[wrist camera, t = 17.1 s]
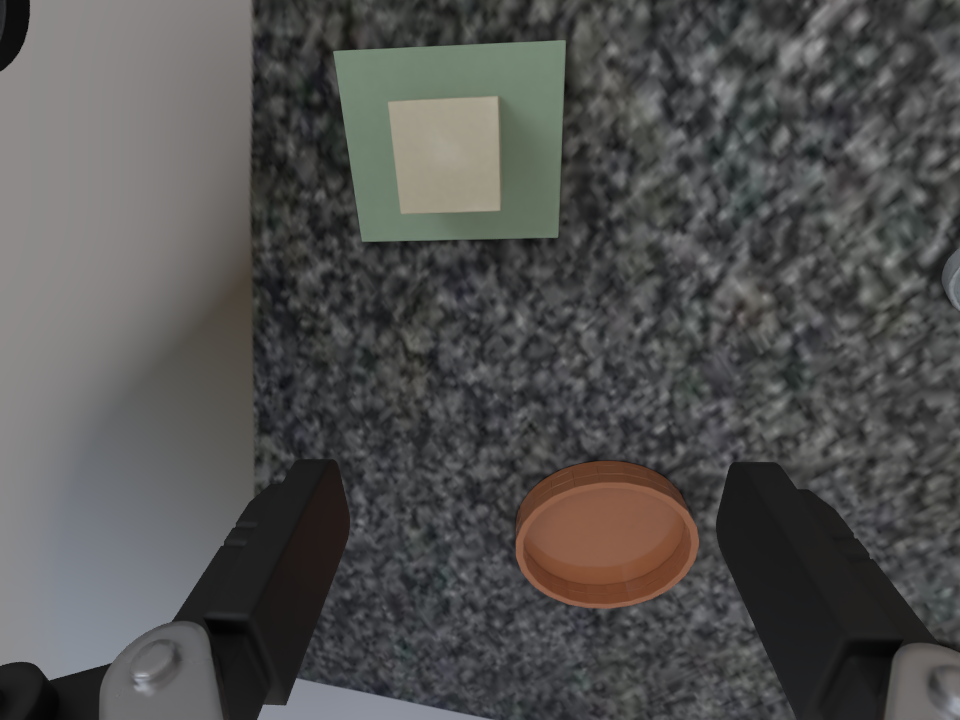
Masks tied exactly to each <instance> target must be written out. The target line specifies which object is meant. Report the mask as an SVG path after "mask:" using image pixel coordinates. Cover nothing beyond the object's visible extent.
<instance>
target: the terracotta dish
mask: <svg viewBox="0 0 960 720" xmlns="http://www.w3.org/2000/svg"><path fill="white" fill-rule="evenodd" d="M698 547H699V538H698V531H697V526H696V524H695V521H694V519H693V517H692V514H691V512H690V510H689V508H688V506H687V504H686V502H685V500H684V498H683V496H682V495H681V493H680V492H679V490H678V489H677V488H676V487H675V486H674V485H673V484H672V483H671V482H670V481H669V480H667V479H666V478H665V477H663V476H662V475H660V474H658V473H657V472H655V471H653V470H651V469H648V468H646V467H643V466H640V465H636V464H632V463H627V462H621V461H594V462H587V463H582V464H578V465H574V466H570V467H568V468H565V469H562V470H560V471H558V472H556V473H554V474H552V475H550V476H548V477H547V478H545V479H544V480H542V481H541V482H540V483H539V484H537V485H536V486H535V487H534V488H533V489H532V490H531V491H530V492H529V493H528V494H527V496H526V497H525V499H524V500H523V502H522V504H521V506H520V508H519V510H518V514H517V518H516V558H517V561H518V563H519V566H520V569H521V571H522V573H523V574H524V575H525V577H526V578H527V579H528V580H529V581H530V583H531V584H532V585H533V586H534V587H536V588H537V589H539V590H540V591H541V592H543V593H544V594H546V595H547V596H549V597H551V598H554V599H556V600H559V601H561V602H564V603H566V604H570V605H575V606H580V607H585V608H617V607H624V606H631V605H635V604H638V603H641V602H644V601H647V600H650V599H652V598H655V597H656V596H658V595H660V594H662V593H664V592H666V591H667V590H669V589H670V588H672V587H673V586H674V585H675V584H677V583H678V582H679V581H680V580H681V579H682V578H683V577H685V575H686V574H687V572H688V571H689V569H690V568H691V566H692V565H693V563H694V562H695V559H696V555H697V551H698Z"/></svg>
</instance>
